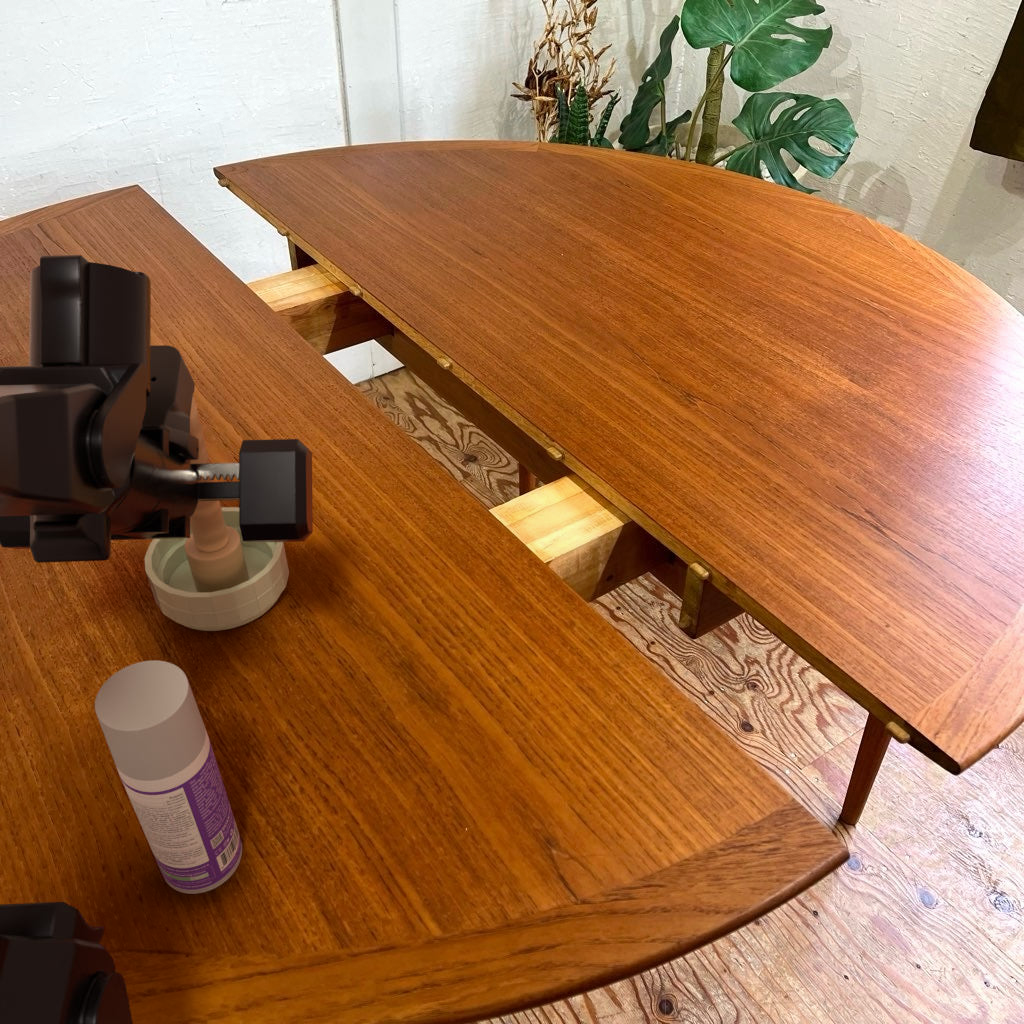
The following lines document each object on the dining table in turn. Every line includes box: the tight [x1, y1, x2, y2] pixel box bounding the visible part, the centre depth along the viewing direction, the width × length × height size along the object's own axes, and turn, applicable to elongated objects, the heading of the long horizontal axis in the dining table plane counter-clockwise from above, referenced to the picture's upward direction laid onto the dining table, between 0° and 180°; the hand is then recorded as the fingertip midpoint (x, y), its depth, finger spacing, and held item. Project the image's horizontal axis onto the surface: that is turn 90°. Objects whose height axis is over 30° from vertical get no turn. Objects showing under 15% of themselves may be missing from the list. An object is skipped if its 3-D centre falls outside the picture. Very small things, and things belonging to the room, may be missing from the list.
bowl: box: [144, 506, 290, 632], centre depth 73 cm, size 10×10×4 cm
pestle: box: [185, 362, 249, 592], centre depth 68 cm, size 4×4×19 cm
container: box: [94, 659, 243, 895], centre depth 52 cm, size 5×5×15 cm
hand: (195, 507), depth 67 cm, fingers open, 9 cm apart
